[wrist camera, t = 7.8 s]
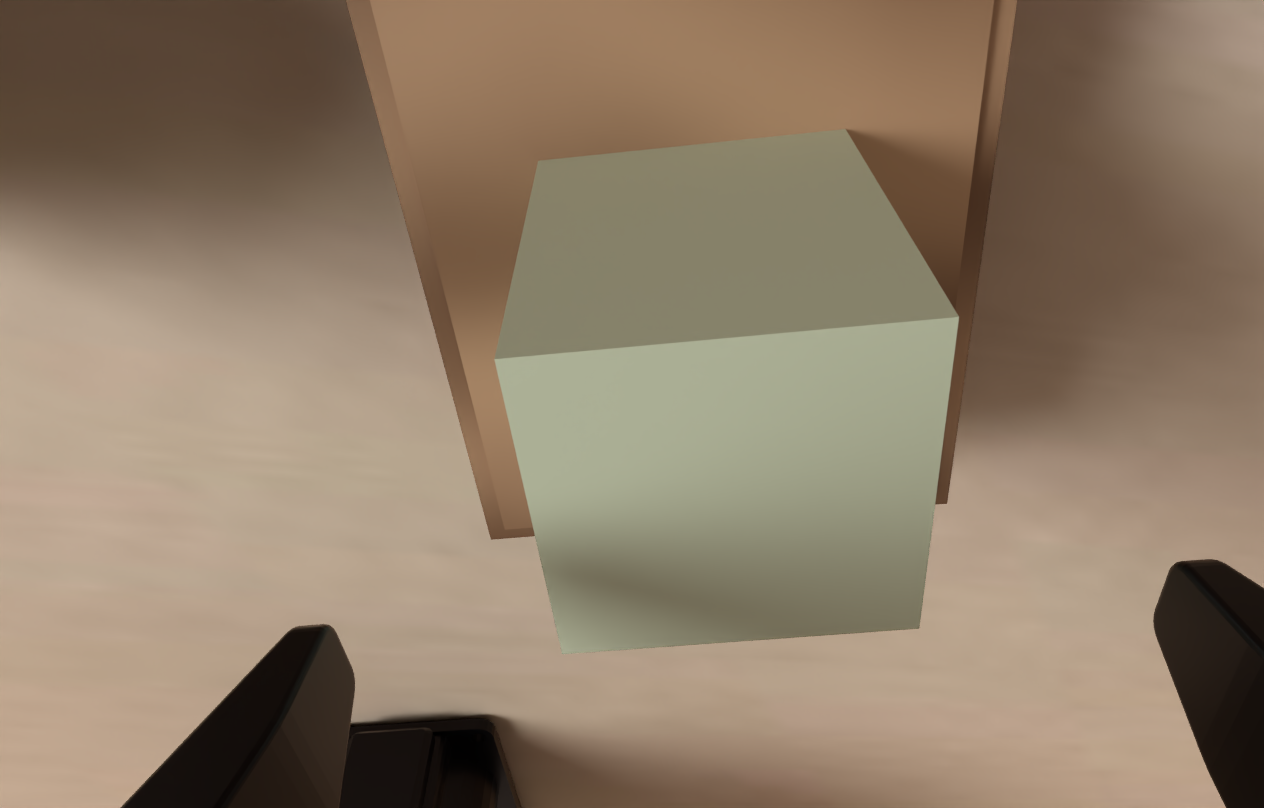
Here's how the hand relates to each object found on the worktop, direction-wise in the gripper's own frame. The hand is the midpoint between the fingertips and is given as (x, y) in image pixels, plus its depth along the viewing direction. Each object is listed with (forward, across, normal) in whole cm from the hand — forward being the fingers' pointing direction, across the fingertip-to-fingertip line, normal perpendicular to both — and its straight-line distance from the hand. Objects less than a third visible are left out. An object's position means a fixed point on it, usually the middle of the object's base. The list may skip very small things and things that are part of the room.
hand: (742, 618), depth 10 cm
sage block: (+8, 0, 0) cm, 8 cm away
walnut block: (+12, 0, 0) cm, 12 cm away
